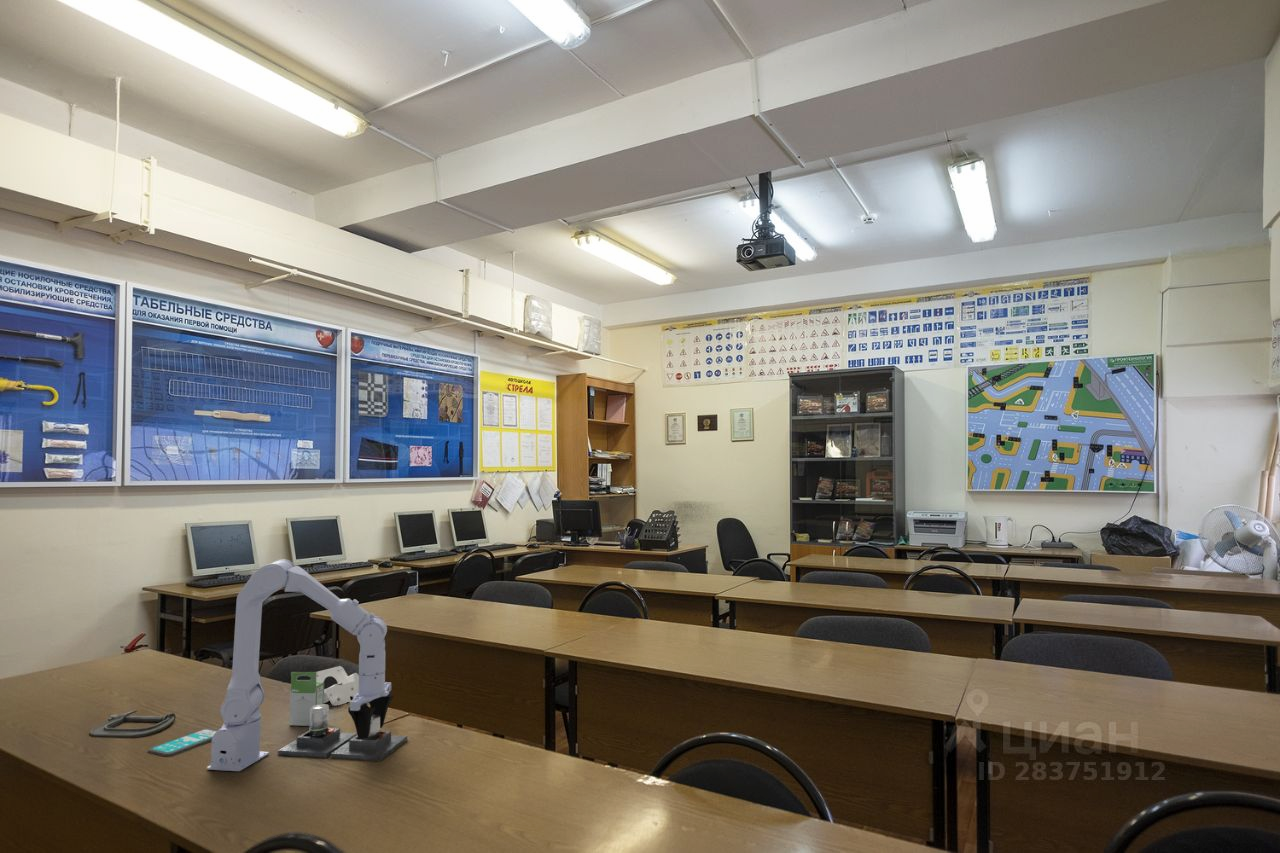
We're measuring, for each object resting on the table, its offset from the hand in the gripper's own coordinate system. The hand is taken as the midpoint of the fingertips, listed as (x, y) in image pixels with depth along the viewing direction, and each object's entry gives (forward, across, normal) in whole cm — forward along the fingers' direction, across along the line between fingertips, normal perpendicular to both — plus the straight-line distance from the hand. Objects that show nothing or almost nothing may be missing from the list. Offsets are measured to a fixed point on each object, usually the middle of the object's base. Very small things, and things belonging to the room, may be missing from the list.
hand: (370, 732), depth 158 cm
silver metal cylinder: (+1, 0, +13) cm, 13 cm away
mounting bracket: (+4, +32, +27) cm, 42 cm away
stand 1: (+4, 0, +13) cm, 14 cm away
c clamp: (+4, +7, +68) cm, 68 cm away
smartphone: (+4, -2, +45) cm, 45 cm away
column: (+3, 0, 0) cm, 3 cm away
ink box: (+4, +13, +25) cm, 28 cm away
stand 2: (+4, 0, 0) cm, 4 cm away
